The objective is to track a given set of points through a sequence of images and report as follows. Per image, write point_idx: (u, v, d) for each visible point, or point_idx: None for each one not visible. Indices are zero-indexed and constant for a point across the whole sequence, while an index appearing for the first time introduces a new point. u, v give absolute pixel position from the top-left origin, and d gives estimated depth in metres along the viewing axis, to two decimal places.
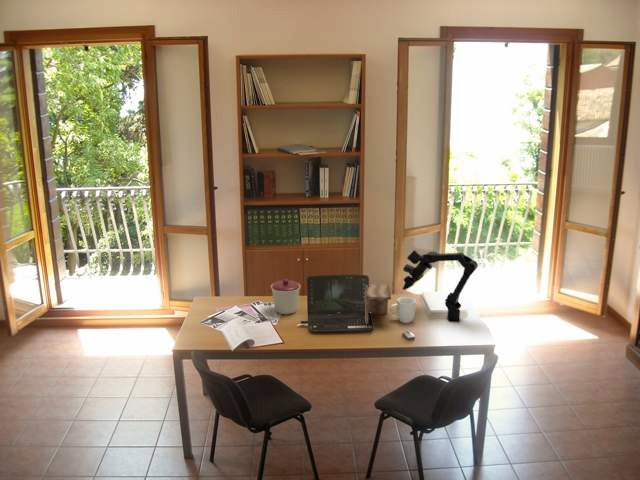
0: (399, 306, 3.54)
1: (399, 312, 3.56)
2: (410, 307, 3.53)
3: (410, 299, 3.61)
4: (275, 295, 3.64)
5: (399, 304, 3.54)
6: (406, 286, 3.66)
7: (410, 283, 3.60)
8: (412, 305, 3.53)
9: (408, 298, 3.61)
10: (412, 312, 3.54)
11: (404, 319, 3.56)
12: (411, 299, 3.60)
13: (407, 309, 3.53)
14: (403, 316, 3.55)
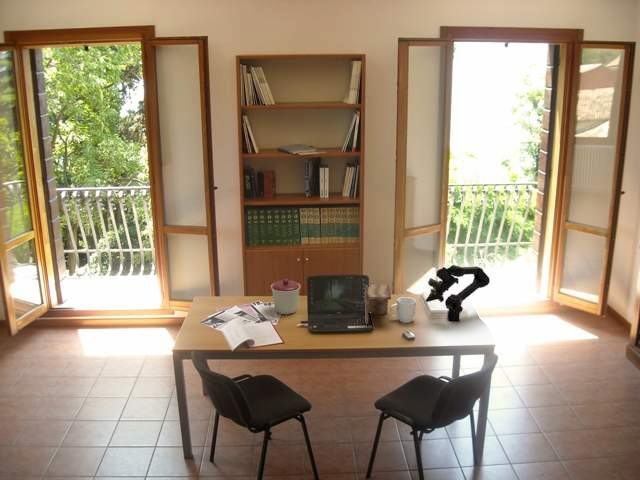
0: (399, 306, 3.54)
1: (399, 312, 3.56)
2: (410, 307, 3.53)
3: (410, 299, 3.61)
4: (275, 295, 3.64)
5: (399, 304, 3.54)
6: (431, 298, 3.55)
7: (441, 299, 3.46)
8: (412, 305, 3.53)
9: (408, 298, 3.61)
10: (412, 312, 3.54)
11: (404, 319, 3.56)
12: (411, 299, 3.60)
13: (407, 309, 3.53)
14: (403, 316, 3.55)
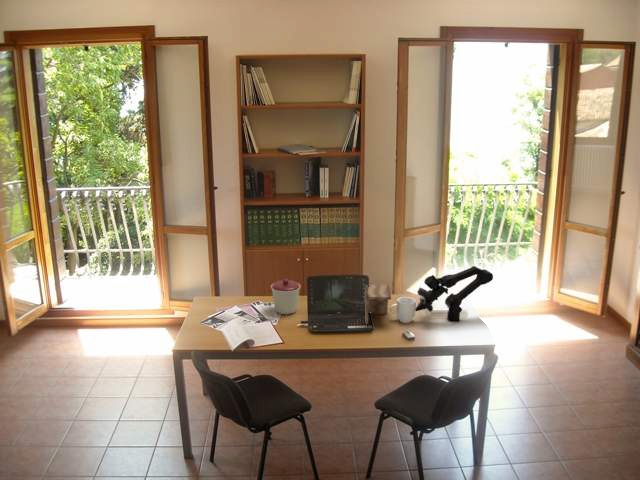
0: (399, 306, 3.54)
1: (399, 312, 3.56)
2: (410, 307, 3.53)
3: (410, 299, 3.61)
4: (275, 295, 3.64)
5: (399, 304, 3.54)
6: (420, 308, 3.56)
7: (430, 309, 3.48)
8: (412, 305, 3.53)
9: (408, 298, 3.61)
10: (412, 312, 3.54)
11: (404, 319, 3.56)
12: (411, 299, 3.60)
13: (407, 309, 3.53)
14: (403, 316, 3.55)
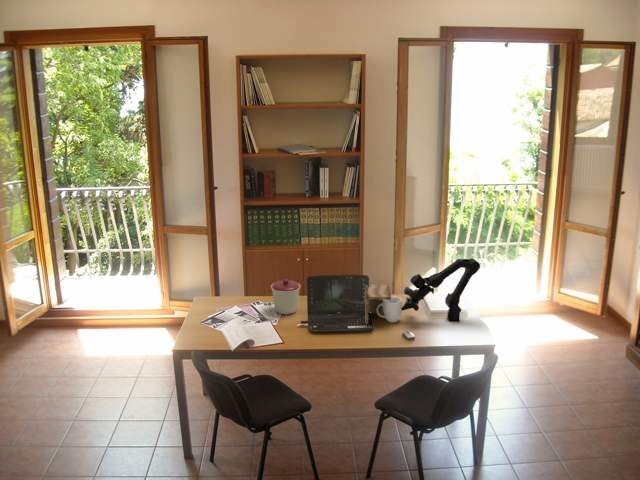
0: (384, 306, 3.55)
1: (385, 312, 3.56)
2: (395, 306, 3.53)
3: (397, 298, 3.61)
4: (275, 295, 3.64)
5: (384, 304, 3.55)
6: (406, 307, 3.57)
7: (416, 308, 3.48)
8: (397, 304, 3.53)
9: (394, 297, 3.62)
10: (398, 311, 3.54)
11: (390, 318, 3.56)
12: (397, 298, 3.60)
13: (392, 308, 3.53)
14: (389, 315, 3.55)
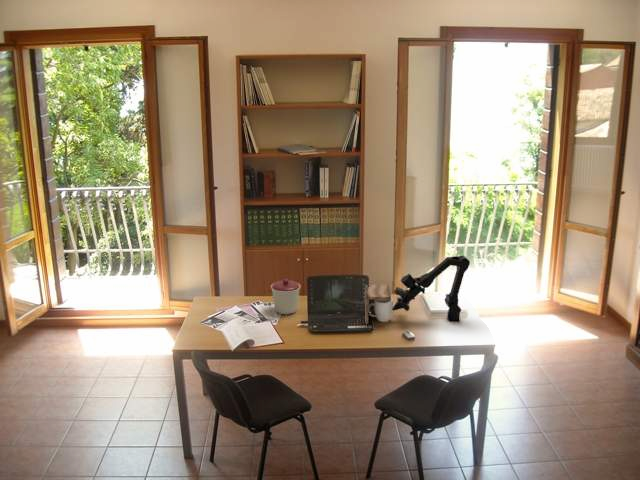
0: (375, 305, 3.56)
1: (376, 311, 3.57)
2: (386, 306, 3.53)
3: None
4: (275, 295, 3.64)
5: (375, 303, 3.55)
6: (397, 307, 3.57)
7: (407, 308, 3.48)
8: (388, 304, 3.53)
9: None
10: (388, 311, 3.54)
11: (381, 318, 3.56)
12: None
13: (383, 308, 3.53)
14: (379, 315, 3.56)
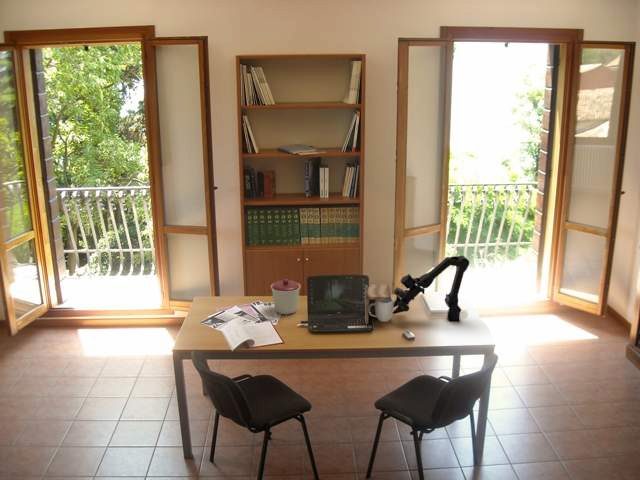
0: (377, 305, 3.56)
1: (377, 311, 3.57)
2: (388, 306, 3.54)
3: None
4: (275, 295, 3.64)
5: (377, 303, 3.55)
6: (398, 310, 3.53)
7: (407, 308, 3.48)
8: (390, 304, 3.54)
9: None
10: (390, 311, 3.56)
11: (382, 318, 3.57)
12: None
13: (385, 308, 3.54)
14: (381, 315, 3.56)
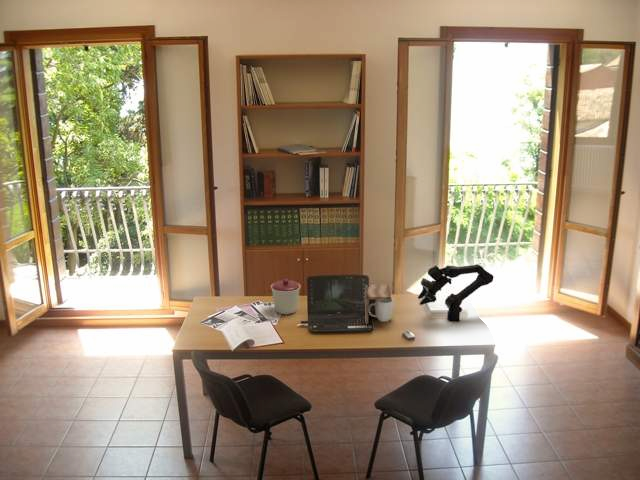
0: (377, 305, 3.56)
1: (377, 311, 3.57)
2: (388, 306, 3.54)
3: None
4: (275, 295, 3.64)
5: (377, 303, 3.55)
6: (425, 301, 3.51)
7: (434, 299, 3.46)
8: (390, 304, 3.54)
9: None
10: (390, 311, 3.56)
11: (382, 318, 3.57)
12: None
13: (385, 308, 3.54)
14: (381, 315, 3.56)
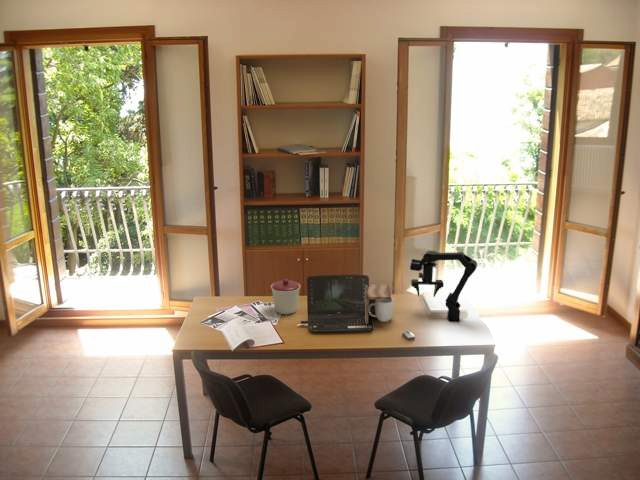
0: (377, 305, 3.56)
1: (377, 311, 3.57)
2: (388, 306, 3.54)
3: None
4: (275, 295, 3.64)
5: (377, 303, 3.55)
6: (417, 291, 3.64)
7: (411, 283, 3.62)
8: (390, 304, 3.54)
9: None
10: (390, 311, 3.56)
11: (382, 318, 3.57)
12: None
13: (385, 308, 3.54)
14: (381, 315, 3.56)
